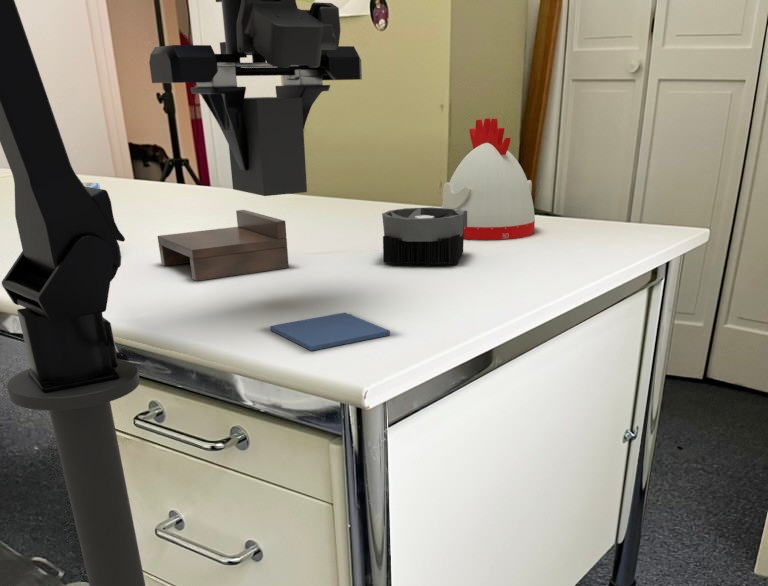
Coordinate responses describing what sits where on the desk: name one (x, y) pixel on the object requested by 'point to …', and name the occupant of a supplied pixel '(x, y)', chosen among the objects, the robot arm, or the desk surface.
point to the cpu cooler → (423, 235)
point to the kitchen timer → (491, 188)
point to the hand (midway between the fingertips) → (267, 168)
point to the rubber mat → (329, 331)
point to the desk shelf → (229, 248)
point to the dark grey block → (272, 147)
